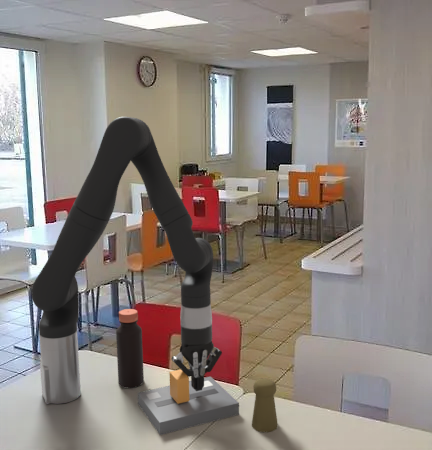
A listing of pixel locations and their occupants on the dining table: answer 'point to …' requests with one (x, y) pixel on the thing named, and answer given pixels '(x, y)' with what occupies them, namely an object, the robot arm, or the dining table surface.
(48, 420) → the dining table surface
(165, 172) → the robot arm
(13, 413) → the dining table surface
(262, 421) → the olive pawn
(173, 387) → the knob
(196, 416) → the panel
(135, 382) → the bottle
